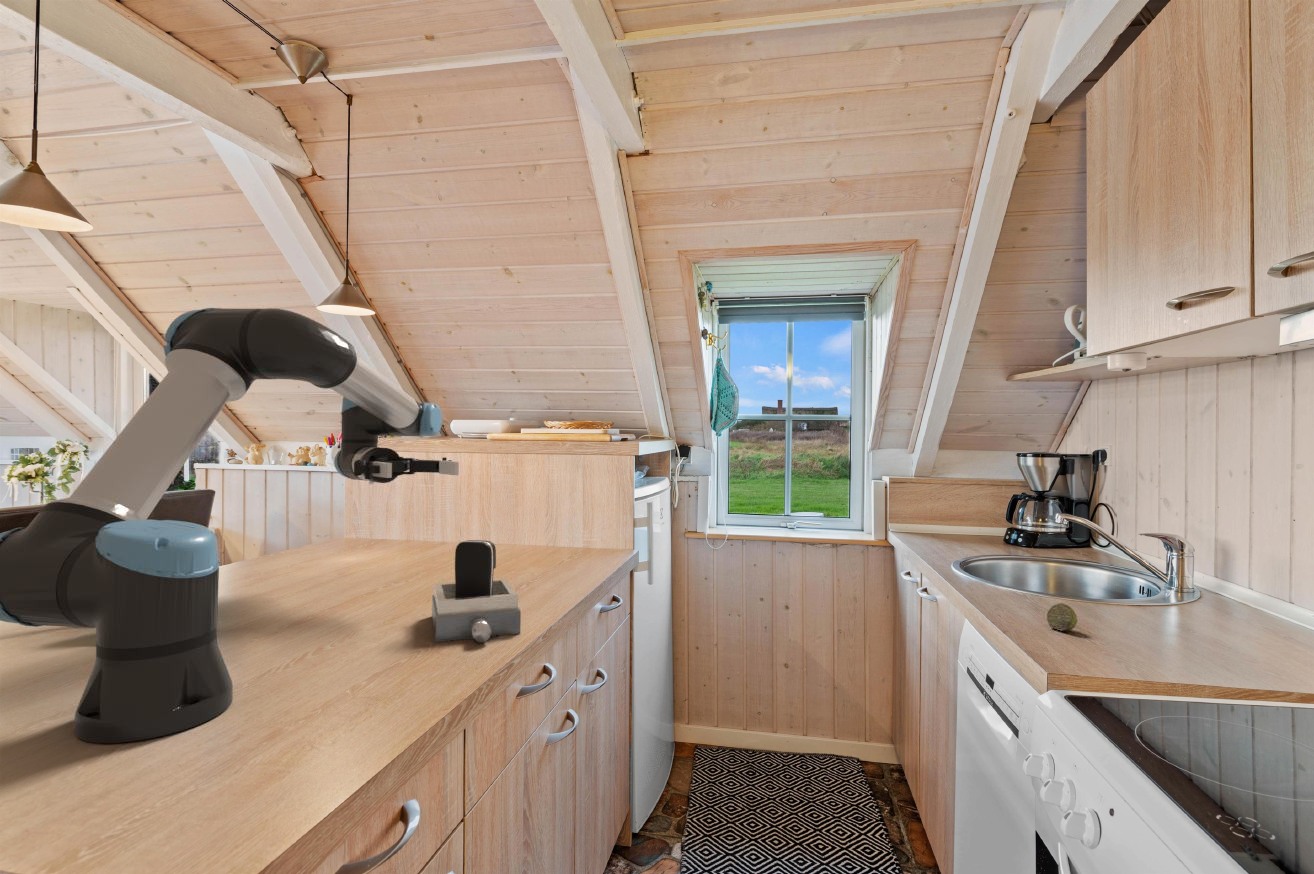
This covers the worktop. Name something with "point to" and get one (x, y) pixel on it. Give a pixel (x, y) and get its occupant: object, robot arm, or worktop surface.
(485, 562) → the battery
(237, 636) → the worktop surface
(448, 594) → the grey drawer box
